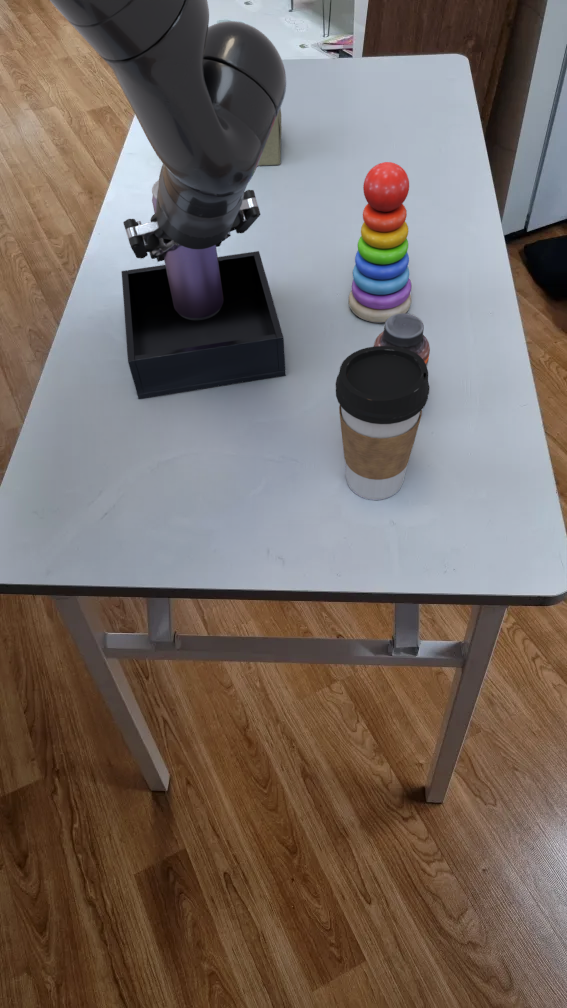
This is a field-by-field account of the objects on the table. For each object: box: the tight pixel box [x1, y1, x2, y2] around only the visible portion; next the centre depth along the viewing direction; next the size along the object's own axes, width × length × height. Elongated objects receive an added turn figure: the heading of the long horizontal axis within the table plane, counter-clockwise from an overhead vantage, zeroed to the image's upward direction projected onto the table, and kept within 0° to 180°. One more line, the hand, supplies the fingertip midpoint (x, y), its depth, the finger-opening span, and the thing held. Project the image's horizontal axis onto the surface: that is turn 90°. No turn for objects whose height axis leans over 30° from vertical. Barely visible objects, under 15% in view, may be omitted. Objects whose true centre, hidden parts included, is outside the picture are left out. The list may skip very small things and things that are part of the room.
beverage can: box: [151, 179, 223, 320], centre depth 80 cm, size 6×6×15 cm
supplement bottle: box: [372, 312, 431, 367], centre depth 77 cm, size 6×6×11 cm
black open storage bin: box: [121, 250, 287, 400], centre depth 88 cm, size 18×18×6 cm
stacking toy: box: [348, 161, 412, 324], centre depth 86 cm, size 8×8×19 cm
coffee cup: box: [335, 345, 430, 501], centre depth 69 cm, size 8×8×15 cm
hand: (185, 245), depth 82 cm, fingers closed on beverage can, 6 cm apart
